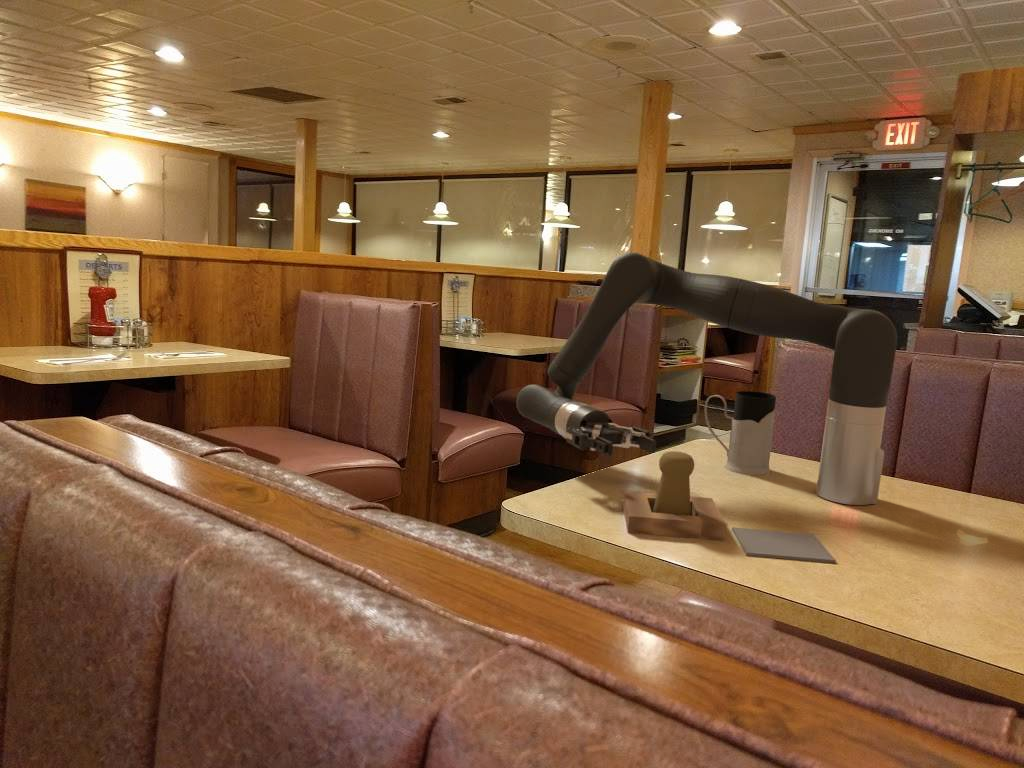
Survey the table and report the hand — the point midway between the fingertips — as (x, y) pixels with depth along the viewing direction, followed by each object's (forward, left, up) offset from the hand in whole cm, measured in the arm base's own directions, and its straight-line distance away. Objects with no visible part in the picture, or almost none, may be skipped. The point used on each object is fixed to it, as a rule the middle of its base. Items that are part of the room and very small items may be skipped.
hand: (632, 448), depth 124 cm
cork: (-6, +10, -9) cm, 15 cm away
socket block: (-6, +10, -9) cm, 14 cm away
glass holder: (-23, -27, -9) cm, 37 cm away
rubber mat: (-21, +16, -9) cm, 27 cm away
